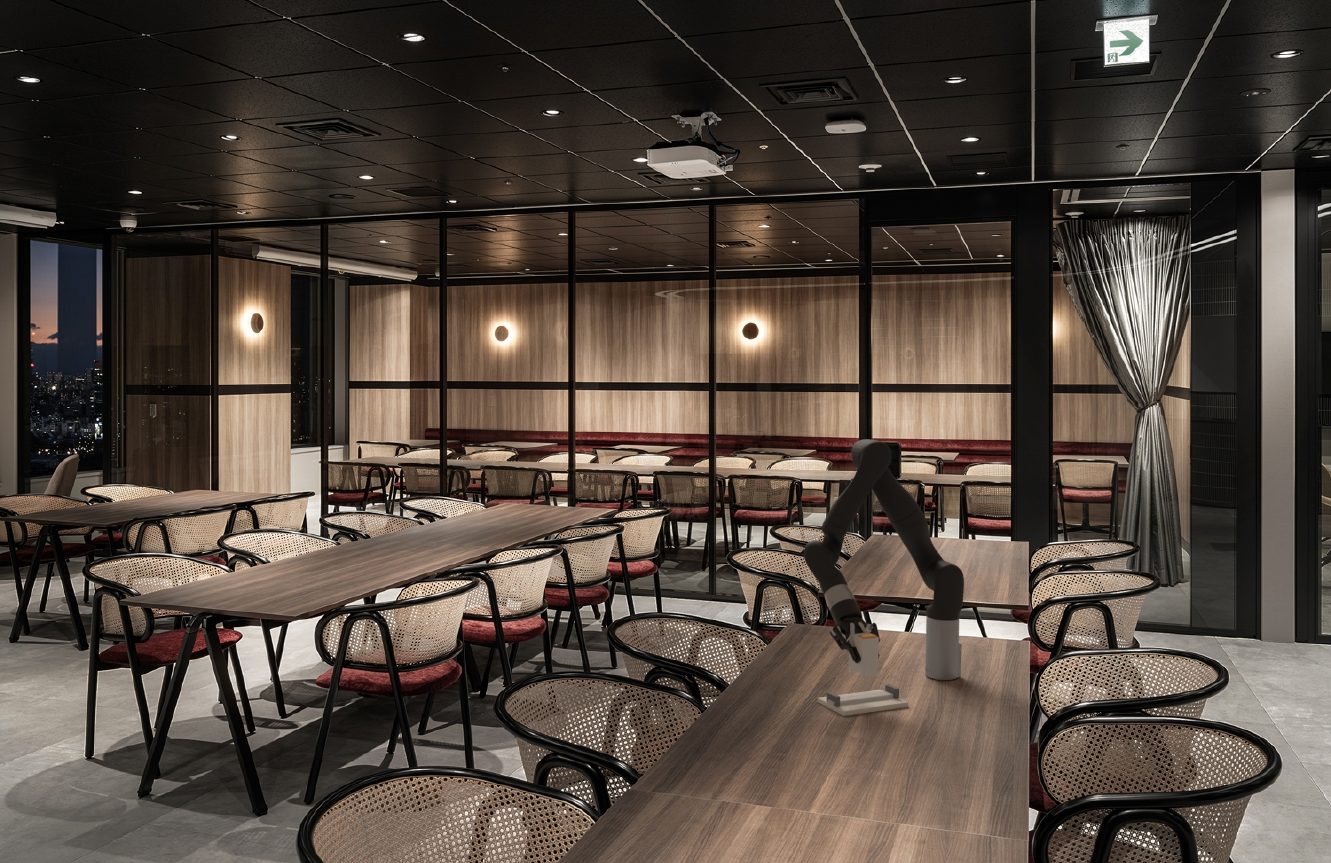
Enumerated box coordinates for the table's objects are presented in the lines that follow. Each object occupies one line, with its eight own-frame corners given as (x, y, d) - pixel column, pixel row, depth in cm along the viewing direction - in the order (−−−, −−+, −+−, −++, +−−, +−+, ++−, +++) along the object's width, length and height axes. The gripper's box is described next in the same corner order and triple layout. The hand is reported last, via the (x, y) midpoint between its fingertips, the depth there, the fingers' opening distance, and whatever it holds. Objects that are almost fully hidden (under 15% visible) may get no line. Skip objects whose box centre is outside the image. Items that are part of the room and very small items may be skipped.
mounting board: (880, 693, 274) (881, 680, 274) (908, 706, 263) (908, 692, 263) (817, 702, 266) (818, 688, 266) (843, 715, 255) (844, 701, 255)
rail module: (864, 670, 268) (865, 630, 267) (877, 676, 262) (879, 635, 262) (848, 672, 266) (849, 631, 265) (861, 678, 260) (862, 637, 260)
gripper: (825, 599, 267) (850, 655, 257) (870, 595, 273) (897, 650, 262) (814, 614, 272) (838, 670, 262) (858, 611, 278) (884, 665, 268)
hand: (867, 660), depth 262 cm, fingers closed on rail module, 5 cm apart
